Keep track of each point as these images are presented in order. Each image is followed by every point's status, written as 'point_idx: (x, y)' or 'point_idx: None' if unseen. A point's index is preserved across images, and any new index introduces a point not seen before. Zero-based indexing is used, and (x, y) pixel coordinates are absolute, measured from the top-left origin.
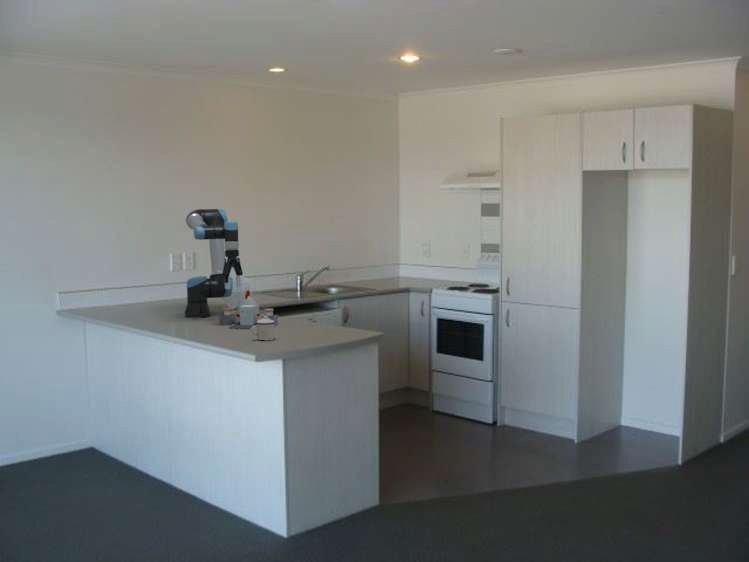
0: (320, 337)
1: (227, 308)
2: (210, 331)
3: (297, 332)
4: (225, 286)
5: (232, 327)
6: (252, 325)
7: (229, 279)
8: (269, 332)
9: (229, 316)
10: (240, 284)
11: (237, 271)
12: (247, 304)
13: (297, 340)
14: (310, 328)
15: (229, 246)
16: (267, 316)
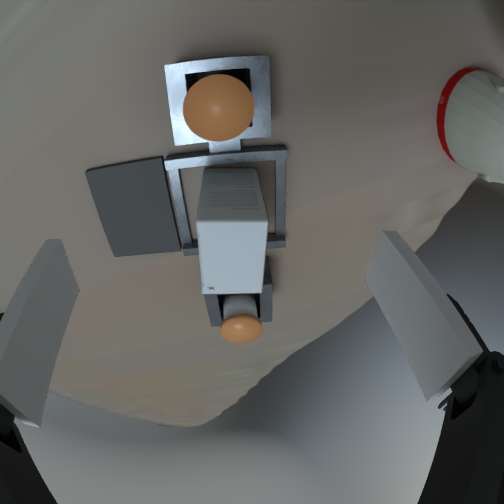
0: (115, 393)
1: (205, 114)
2: (12, 140)
3: (140, 364)
4: (36, 267)
5: (95, 187)
6: (177, 241)
7: (39, 389)
8: None
9: (174, 134)
10: (378, 302)
11: (450, 454)
12: (486, 147)
13: (66, 373)
14: (208, 371)
15: None
16: (223, 306)
